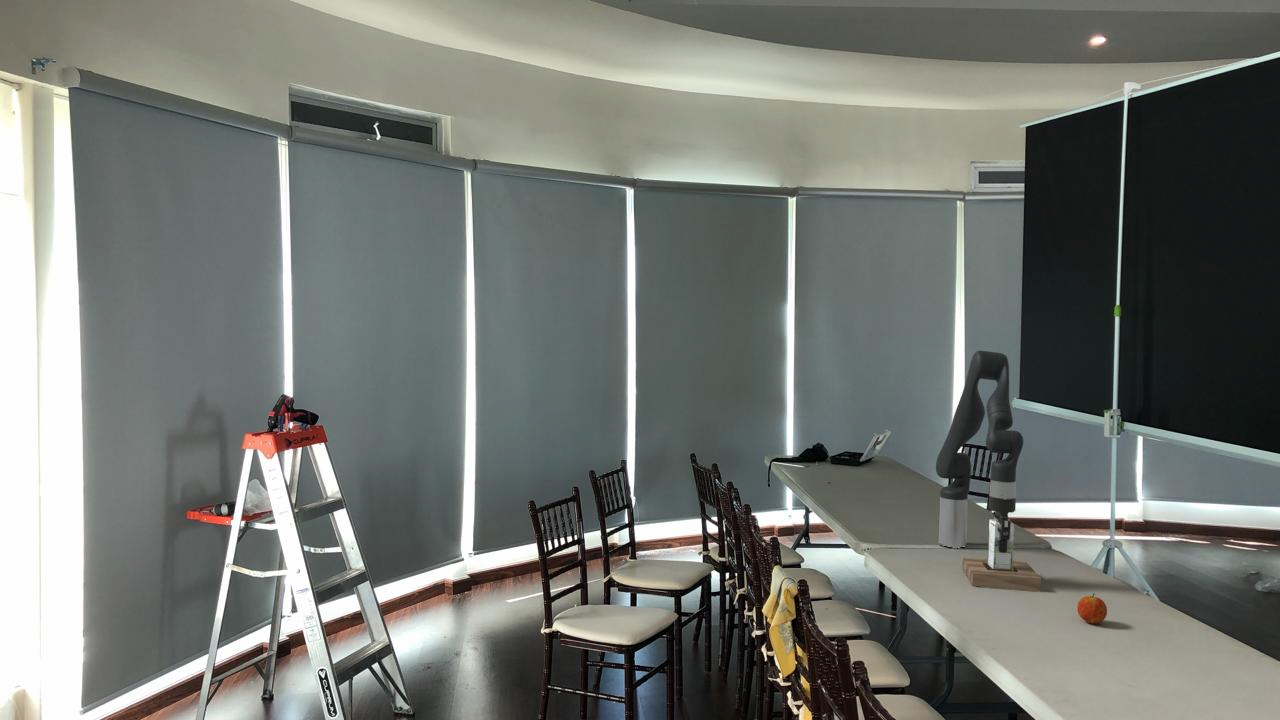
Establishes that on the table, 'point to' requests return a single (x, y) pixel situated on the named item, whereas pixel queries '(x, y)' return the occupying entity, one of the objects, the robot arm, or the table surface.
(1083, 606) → the fruit
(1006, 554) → the syrup box
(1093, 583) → the table surface
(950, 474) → the robot arm
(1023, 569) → the socket block
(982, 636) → the table surface
